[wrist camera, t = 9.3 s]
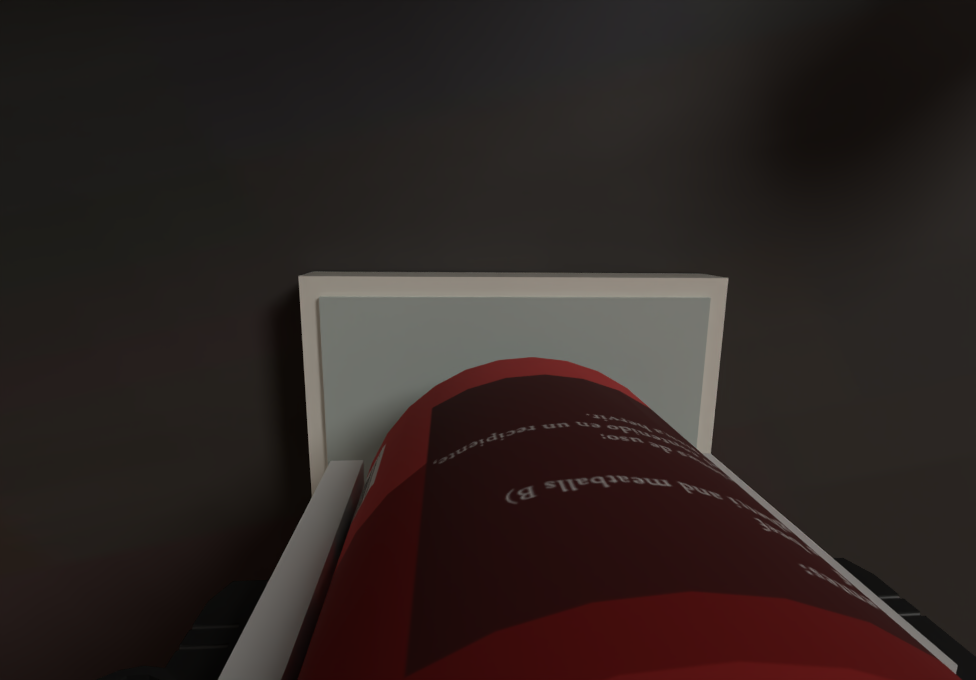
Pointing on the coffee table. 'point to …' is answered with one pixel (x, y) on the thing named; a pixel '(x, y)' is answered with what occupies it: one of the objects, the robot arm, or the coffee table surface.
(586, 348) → the tray
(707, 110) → the coffee table surface
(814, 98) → the coffee table surface
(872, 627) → the canned food
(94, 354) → the coffee table surface
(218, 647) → the robot arm
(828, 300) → the coffee table surface
